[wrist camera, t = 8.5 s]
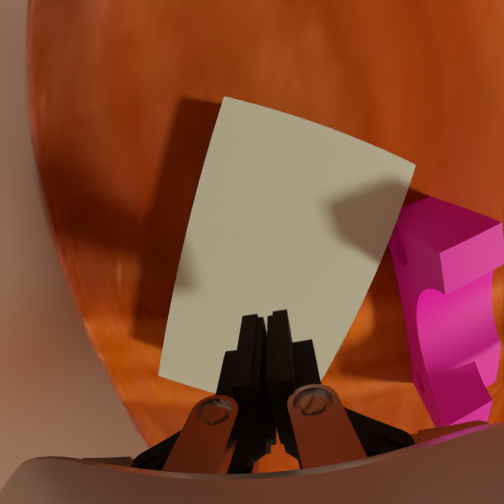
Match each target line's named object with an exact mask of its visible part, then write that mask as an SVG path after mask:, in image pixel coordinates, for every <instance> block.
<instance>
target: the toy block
mask: <svg viewBox="0 0 504 504" xmlns="http://www.w3.org/2000/svg"><path fill="white" fill-rule="evenodd" d="M388 244H389V248H390V252H391V256H392V260H393V265H394V269H395V273H396V278H397V282H398V287H399V292H400V297H401V302H402V307H403V313H404V318H405V324H406V330H407V337H408V344H409V351H410V358H411V366H412V375H413V383H414V385H415V387H416V389H417V391H418V393H419V395H420V397H421V399H422V401H423V403H424V405H425V407H426V409H427V411H428V413H429V415H430V417H431V419H432V421H433V423H434V425H435V427H436V428H437V427H444V426H449V425H455V424H460V423H465V422H469V421H476V420H481V421H484V422H487V420H488V417H489V413H490V409H491V404H492V398H491V397H490V395H489V393H488V391H487V389H486V387H488V386H489V385H491V384H492V383H494V382H496V376H497V370H498V364H499V356H500V348H501V344H500V341H499V338H498V334H497V330H496V326H495V322H494V317H493V310H492V300H491V283H492V275H493V270H494V269H495V268H497V267H499V266H501V265H502V264H504V240H503V229H502V222H499V221H497V220H494V219H492V218H489V217H487V216H484V215H482V214H479V213H476V212H474V211H471V210H468V209H466V208H463V207H460V206H457V205H454V204H452V203H449V202H446V201H443V200H440V199H437V198H434V197H431V196H429V197H427V198H424V199H422V200H419V201H417V202H414V203H412V204H409V205H406V206H404V207H402V208H401V211H400V213H399V216H398V219H397V222H396V224H395V227H394V229H393V232H392V235H391V237H390V240H389V242H388Z"/></svg>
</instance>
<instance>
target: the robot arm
mask: <svg viewBox="0 0 504 504" xmlns="http://www.w3.org/2000/svg"><path fill="white" fill-rule="evenodd" d="M276 428H277V432H278V435H279V439H280V443H281V444H284V447H285V451H286V453H288V454H289V455H291V456H293V457H294V458H296V459H298V463H299V467H300V469H299V470H291V471H281V472H268V473H257V471H258V467H259V462H258V460H259V459H260V458H262V457H263V456H264V455H265V454H271V445H276ZM0 504H504V422H501V423H492V424H488V423H487V422H484V421H481V420H476V421H469V422H465V423H460V424H455V425H449V426H444V427H437V428H431V429H424V430H418V434H409V433H407V432H405V431H403V430H401V429H398V428H395V427H393V426H390V425H387V424H384V423H382V422H379V421H377V420H374V419H372V418H369V417H366V416H364V415H361V414H359V413H357V412H354V411H352V410H349V409H347V408H345V407H343V405H342V403H341V401H340V399H339V397H338V395H337V393H336V392H335V390H334V389H332V388H330V387H329V386H326V385H322V384H321V381H320V376H319V370H318V365H317V360H316V355H315V350H314V345H313V341H312V339H309V340H303V341H297V342H292V336H291V330H290V324H289V318H288V312H287V309H284V310H278V311H273V312H272V315H270V316H267V331H266V326H265V321H264V317H258V314H251V315H245V316H242V321H241V327H240V333H239V339H238V345H237V350H231V351H226V352H225V354H224V359H223V363H222V367H221V372H220V376H219V381H218V385H217V390H216V395H213V396H210V397H206V398H204V399H202V400H200V401H199V402H198V403H197V404H196V405H195V406H194V407H193V409H192V410H191V413H190V415H189V417H188V419H187V421H186V423H185V425H184V427H183V429H182V430H181V431H179V432H177V433H176V434H174V435H172V436H171V437H169V438H167V439H166V440H164V441H162V442H160V443H159V444H157V445H155V446H153V447H152V448H150V449H148V450H146V451H145V452H143V453H141V454H140V455H138V456H137V457H136V458H135V459H132V458H131V457H112V458H83V459H79V458H71V457H60V456H59V457H58V456H46V457H37V458H33V459H30V460H27V461H25V462H23V463H22V464H20V466H18V468H17V469H16V470H15V471H14V472H13V473H12V475H11V476H10V478H9V479H8V480H7V482H6V483H5V485H4V486H3V488H2V489H1V491H0Z"/></svg>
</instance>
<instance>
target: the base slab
mask: <svg viewBox="0 0 504 504" xmlns="http://www.w3.org/2000/svg"><path fill="white" fill-rule="evenodd" d="M415 166H416V165H415V164H413V163H411V162H409V161H407V160H405V159H403V158H400V157H398V156H396V155H394V154H392V153H390V152H387V151H385V150H383V149H381V148H378V147H376V146H374V145H371V144H369V143H367V142H364V141H362V140H359V139H357V138H354V137H352V136H349V135H347V134H344V133H342V132H339V131H336V130H334V129H331V128H328V127H325V126H323V125H320V124H317V123H314V122H311V121H308V120H305V119H302V118H299V117H296V116H293V115H290V114H287V113H284V112H280V111H277V110H274V109H270V108H267V107H263V106H260V105H256V104H252V103H249V102H245V101H241V100H237V99H233V98H229V97H225V96H224V99H223V102H222V105H221V108H220V111H219V115H218V118H217V121H216V124H215V128H214V131H213V134H212V138H211V141H210V144H209V148H208V151H207V155H206V158H205V162H204V166H203V169H202V173H201V176H200V180H199V184H198V188H197V191H196V195H195V199H194V203H193V207H192V211H191V215H190V219H189V223H188V227H187V231H186V236H185V240H184V244H183V249H182V253H181V258H180V262H179V267H178V271H177V276H176V281H175V285H174V290H173V295H172V300H171V305H170V311H169V316H168V321H167V327H166V332H165V338H164V344H163V349H162V355H161V362H160V368H159V374H158V376H161V377H164V378H167V379H170V380H173V381H176V382H179V383H182V384H185V385H189V386H192V387H195V388H198V389H202V390H205V391H209V392H212V393H216V390H217V385H218V381H219V376H220V372H221V367H222V363H223V359H224V354H225V352H226V351H231V350H237V345H238V339H239V333H240V327H241V321H242V316H245V315H251V314H258V317H264V321H265V326H266V331H267V316H270V315H272V312H273V311H278V310H284V309H287V312H288V318H289V324H290V330H291V336H292V342H297V341H303V340H309V339H312V341H313V345H314V350H315V355H316V360H317V365H318V370H319V376H320V381H321V380H322V378H323V376H324V375H325V373H326V371H327V369H328V368H329V366H330V364H331V362H332V361H333V359H334V357H335V355H336V353H337V351H338V349H339V348H340V346H341V344H342V342H343V340H344V338H345V336H346V334H347V332H348V330H349V328H350V326H351V324H352V322H353V320H354V318H355V316H356V314H357V312H358V310H359V308H360V306H361V304H362V302H363V300H364V298H365V295H366V293H367V291H368V289H369V287H370V285H371V282H372V280H373V278H374V276H375V273H376V271H377V269H378V266H379V264H380V262H381V259H382V257H383V255H384V252H385V250H386V247H387V245H388V242H389V240H390V237H391V235H392V232H393V229H394V227H395V224H396V222H397V219H398V216H399V213H400V211H401V208H402V205H403V202H404V199H405V197H406V194H407V191H408V188H409V185H410V182H411V179H412V176H413V172H414V169H415Z"/></svg>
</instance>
